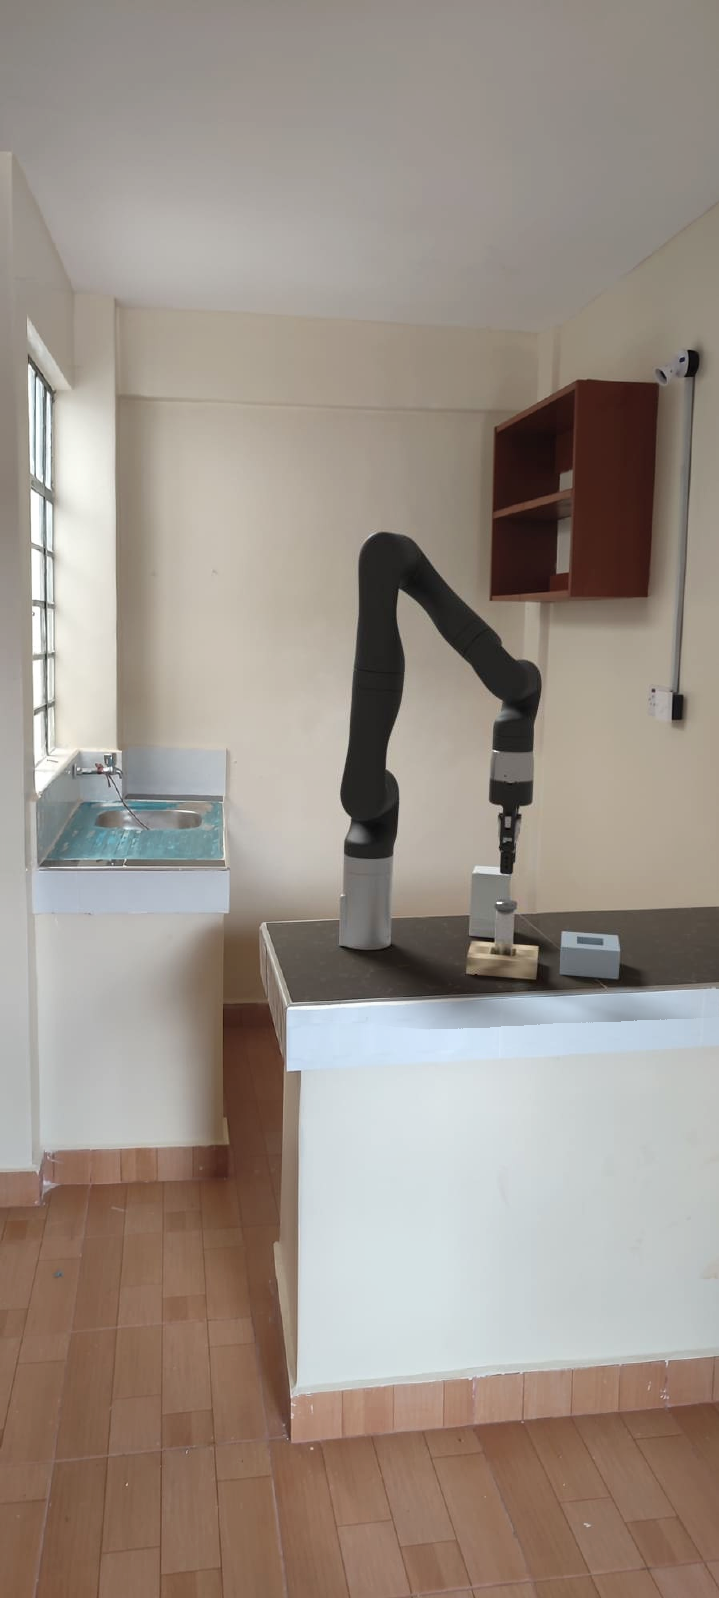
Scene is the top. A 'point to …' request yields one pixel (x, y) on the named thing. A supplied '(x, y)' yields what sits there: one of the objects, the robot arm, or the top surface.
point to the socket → (590, 955)
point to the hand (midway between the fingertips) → (507, 868)
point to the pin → (504, 926)
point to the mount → (502, 961)
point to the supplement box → (486, 899)
